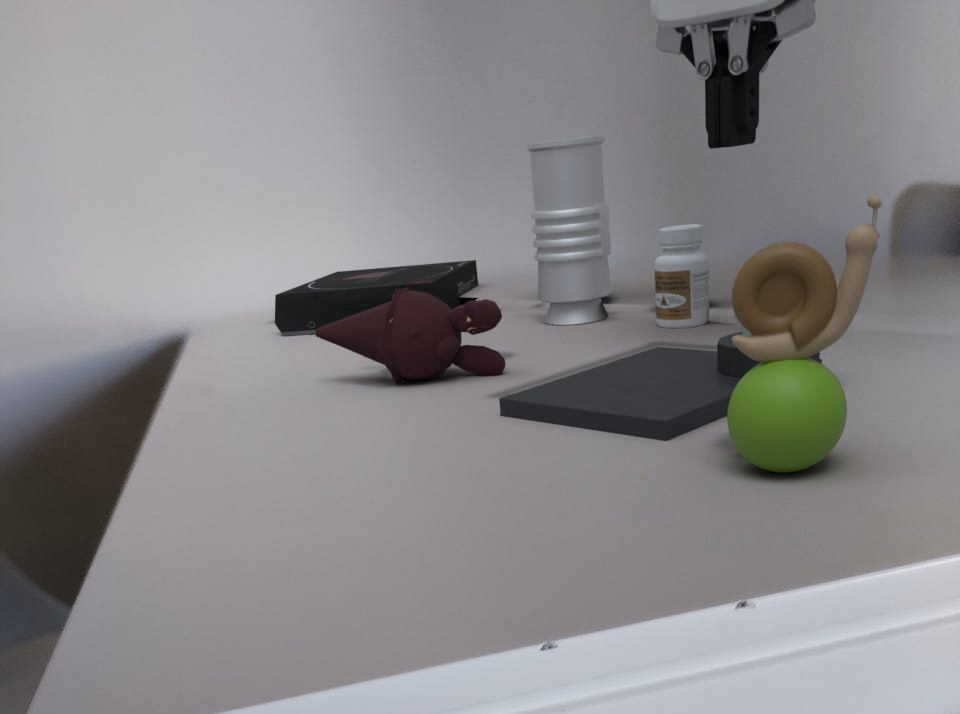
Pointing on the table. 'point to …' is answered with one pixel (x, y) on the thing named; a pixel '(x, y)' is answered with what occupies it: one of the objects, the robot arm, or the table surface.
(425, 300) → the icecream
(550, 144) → the silver ribbed cylinder
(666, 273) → the pill bottle
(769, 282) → the snail figurine
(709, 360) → the scale
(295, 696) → the table surface
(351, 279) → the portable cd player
